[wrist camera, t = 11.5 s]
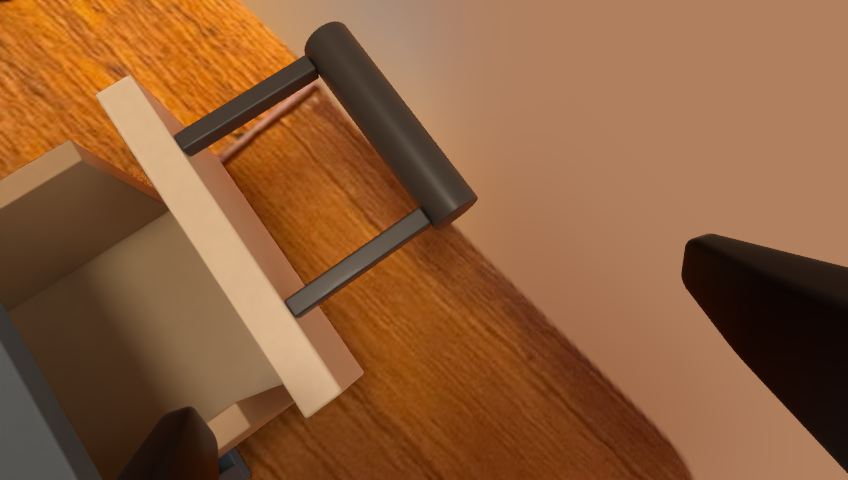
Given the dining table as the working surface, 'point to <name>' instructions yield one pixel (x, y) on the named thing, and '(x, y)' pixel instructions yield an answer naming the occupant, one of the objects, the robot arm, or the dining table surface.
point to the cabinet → (49, 423)
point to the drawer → (195, 263)
